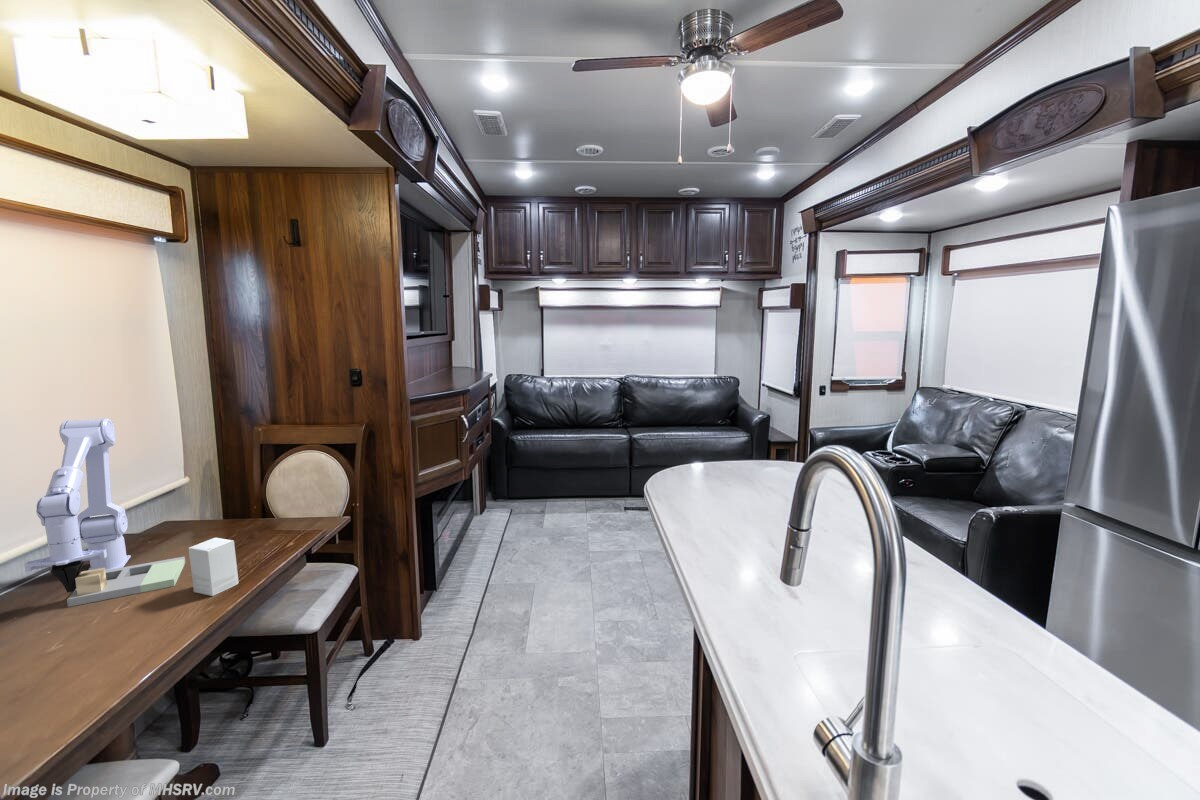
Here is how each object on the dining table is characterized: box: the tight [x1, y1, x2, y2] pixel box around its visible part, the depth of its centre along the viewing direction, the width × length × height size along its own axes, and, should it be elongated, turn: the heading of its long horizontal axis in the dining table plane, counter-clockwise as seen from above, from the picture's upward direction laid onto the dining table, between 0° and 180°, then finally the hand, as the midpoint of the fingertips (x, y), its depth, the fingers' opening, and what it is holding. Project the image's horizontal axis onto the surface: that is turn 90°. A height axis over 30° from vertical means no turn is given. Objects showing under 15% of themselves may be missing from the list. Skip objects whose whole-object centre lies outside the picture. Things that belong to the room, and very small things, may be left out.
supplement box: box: [188, 537, 239, 597], centre depth 138 cm, size 7×7×13 cm
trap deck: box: [66, 556, 186, 608], centre depth 141 cm, size 16×21×2 cm
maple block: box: [75, 568, 107, 595], centre depth 133 cm, size 4×4×4 cm
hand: (71, 590), depth 132 cm, fingers closed
